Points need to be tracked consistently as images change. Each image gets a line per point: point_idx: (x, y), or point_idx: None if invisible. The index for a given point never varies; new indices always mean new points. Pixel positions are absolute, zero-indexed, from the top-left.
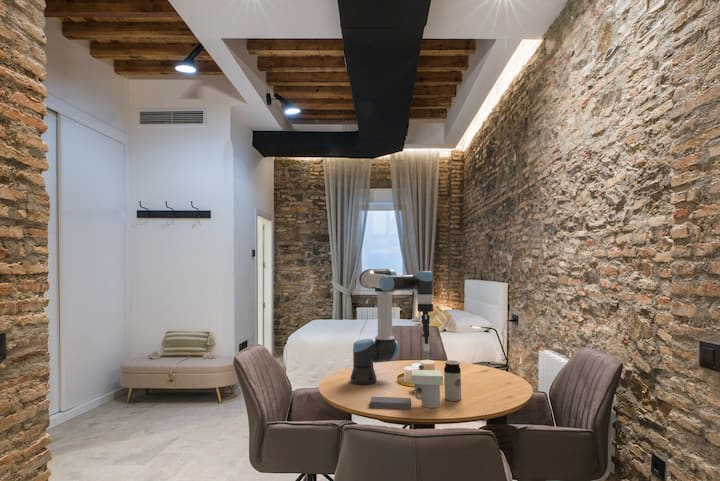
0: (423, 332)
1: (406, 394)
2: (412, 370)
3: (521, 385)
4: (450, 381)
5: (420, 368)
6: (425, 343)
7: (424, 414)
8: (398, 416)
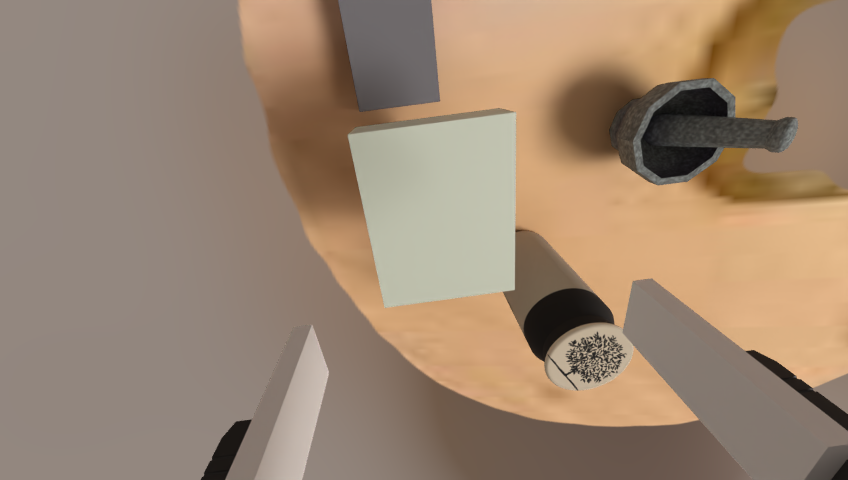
0: (809, 450)
1: (569, 55)
2: (493, 119)
3: (662, 418)
4: (513, 292)
5: (760, 130)
6: (234, 431)
7: (314, 172)
8: (246, 63)
